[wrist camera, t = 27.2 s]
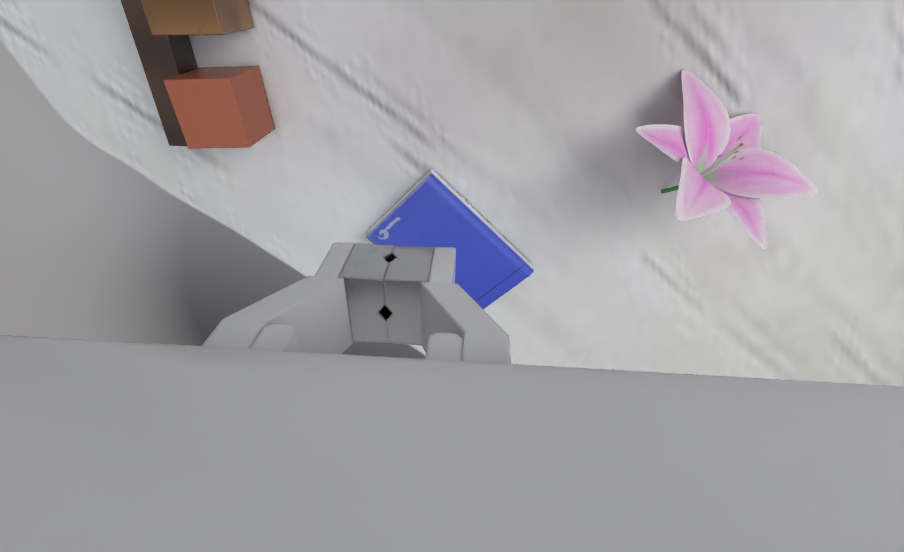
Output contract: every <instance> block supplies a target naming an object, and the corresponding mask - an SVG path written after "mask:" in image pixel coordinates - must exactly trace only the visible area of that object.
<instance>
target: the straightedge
mask: <svg viewBox="0 0 904 552" xmlns="http://www.w3.org/2000/svg"><path fill="white" fill-rule="evenodd" d="M121 2H122V5H123V8H124V11H125V14H126V17H127V20H128V23H129V26H130V29H131V32H132V35H133V38H134V41H135V44H136V47H137V50H138V53H139V56H140V59H141V62H142V65H143V68H144V71H145V74H146V77H147V80H148V83H149V86H150V89H151V92H152V95H153V98H154V101H155V104H156V107H157V110H158V113H159V116H160V119H161V122H162V125H163V128H164V131H165V133H166V136H167V139H168V142H169V145H172V146H187V143H186V140H185V138H184V135H183V132H182V129H181V127H180V124H179V121H178V119H177V116H176V113H175V111H174V108H173V105H172V102H171V100H170V97H169V94H168V92H167V89H166V86H165V84H164V80H165V79H168V78H171V77H174V76H177V75H180V74H183V73H186V72H189V71H192V70H195V69H197V66H196V63H195V59H194V55H193V52H192V48H191V44H190V41H189V37H188V35H153V34H152V32H151V29H150V26H149V23H148V20H147V18H146V15H145V12H144V9H143V6H142V3H141V0H121Z"/></svg>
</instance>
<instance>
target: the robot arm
mask: <svg viewBox="0 0 904 552" xmlns="http://www.w3.org/2000/svg"><path fill="white" fill-rule="evenodd" d="M455 267H456V249H455V247H435V248H434V247H412V246H390V245H375V244H360V243H356V244H355V243H342V242H336V243H334V244H333V245H332V246H331V248H330V250H329V252H328V253H327V255H326V257H325V259H324V260H323V262H322V264H321V266H320V267H319V269H318V271H317V273H316V274H315V276H308V277H306V278H304V279H302V280H300V281H298V282H296V283H294V284H292V285H290V286H288V287H286V288H284V289H282V290H280V291H278V292H276V293H274V294H272V295H270V296H268V297H266V298H264V299H262V300H260V301H258V302H256V303H254V304H252V305H250V306H248V307H246V308H244V309H242V310H240V311H238V312H236V313H234V314H232V315H230V316H228V317H226V318H224V319H222V320H221V322H220V323H219V324H218V326H217V327H216V328H215V329H214V331H213V332H212V333H211V335H210V336H209V337H208V339H207V340H206V341H205V343H204V344H203V345H202V346H186V345H169V344H151V343H134V342H114V341H99V340H81V339H79V340H78V339H63V338H46V337H29V336H11V335H0V552H904V387H903V386H885V385H868V384H850V383H832V382H814V381H797V380H780V379H762V378H745V377H728V376H711V375H693V374H676V373H659V372H641V371H624V370H607V369H589V368H572V367H554V366H537V365H519V364H511V359H510V344H509V335H508V334H507V333H506V332H505V331H504V330H503V329H502V328H501V327H500V326H499V325H498V324H497V323H496V322H495V321H494V320H493V319H492V318H491V317H490V316H489V315H488V314H487V313H486V312H485V311H484V310H483V309H482V308H481V307H480V306H479V305H478V304H477V303H476V302H475V301H474V300H473V299H472V298H471V297H470V296H469V295H468V294H467V293H466V292H465V291H464V290H463V289H462V288H461V287H460V286H459V285H458V284H455ZM353 342H383V343H399V344H410V345H422V346H423V349H424V350H425V352H426V356H425V359H414V358H413V359H412V358H395V357H378V356H360V355H343V354H341V353H342V352H343V351H345V350H346V349H347V348H348V347H349V346H350V345H351V344H353Z"/></svg>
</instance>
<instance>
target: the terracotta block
mask: <svg viewBox="0 0 904 552" xmlns="http://www.w3.org/2000/svg"><path fill="white" fill-rule="evenodd" d="M164 84H165V86H166V89H167V92H168V94H169V97H170V100H171V102H172V105H173V108H174V111H175V113H176V116H177V119H178V121H179V124H180V127H181V129H182V132H183V135H184V138H185V140H186V143H187V146H188V148H189V149H191V148H238V147H251V146H252V145H254V144H255V143H256V142H258V141H259V140H260V139H262V138H263V137H264V136H266V135H267V134H268V133H270V132H271V131H272V130H274V129H275V127H274V123H273V119H272V116H271V112H270V108H269V104H268V100H267V96H266V92H265V88H264V84H263V80H262V77H261V73H260V69H259V66H240V67H212V68H198V69H195V70H192V71H189V72H186V73H183V74H180V75H177V76H174V77H171V78H168V79H165V80H164Z"/></svg>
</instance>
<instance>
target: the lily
mask: <svg viewBox="0 0 904 552" xmlns="http://www.w3.org/2000/svg"><path fill="white" fill-rule="evenodd" d="M681 79H682V90H683V100H684V128H683V127H680V126H676V125H667V124H655V125H644V126H639V127H637V128H636V131H637V132H638V133H639V134H640V135H641V136H642V137H644V138H645V139H646V140H648V141H649V142H650V143H652V144H653V145H654V146H656V147H657V148H658V149H660V150H661V151H662V152H664V153H665V154H666V155H668V156H669V157H671V158H672V159H673V160H675V161H676V162H677V163H679V164H680V165H681V166H682V168H681V177H680V183H679V185H678V186H674V187H671V188H667V189H663V190H661V193H666V192H671V191H674V190H678V195H677V201H676V216H677V218H678V220H681V221H684V222H685V221H691V220H695V219H699V218H702V217H705V216H708V215H710V214H713V213H716V212H718V211H721V210H723V209H726V208H727V209H728V210H729V212H730V213H731V214H732V215H733V216H734V217H735V219H736V220H737V221H738V222H739V223H740V224H741V226H742V227H743V228H744V229H745V230H746V231H747V233H748V234H749V235H750V236H751V237H752V238H753V239H754V241H755V242H756V243H757V244H758V245H759V246H760V247H761V248H762V249H764V250H765V249H766V247H767V238H768V237H767V224H766V218H765V212H764V209H763V205H762V202H761V201H760V199H759V198H762V199H768V198H786V197H804V196H812V195H816V194H817V192H818V190H817V188H816V186H815V185H814V184H813V183H812V182H811V180H810V179H809V178H808V177H807V176H806V175H804V174H803V173H802V172H801V171H800V170H799V169H798V168H797V167H795V166H794V165H793V164H791V163H790V162H789V161H788V160H786V159H785V158H783V157H781V156H779V155H778V154H776V153H774V152H771V151H769V150H766V149H763V148H760V146H761V142H762V121H761V118H760V116H759V115H758V114H756V113H749V114H743V115H739V116H736V117H733V118H731V119H730V118H729V115H728V113H727V110H726V108H725V106H724V105H723V104H722V102H721V101H720V99H719V98H718V97H717V96H716V95H715V93H714V92H713V91H712V90H711V89H710V88H709V87H708V86H707V85H706V84H705V83H704V82H703V81H701V80H700V79H699V78H698V77H697V76H696V75H694V74H693V73H691V72H690V71H688V70H685V69H684V70H683V71H682V75H681Z"/></svg>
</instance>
